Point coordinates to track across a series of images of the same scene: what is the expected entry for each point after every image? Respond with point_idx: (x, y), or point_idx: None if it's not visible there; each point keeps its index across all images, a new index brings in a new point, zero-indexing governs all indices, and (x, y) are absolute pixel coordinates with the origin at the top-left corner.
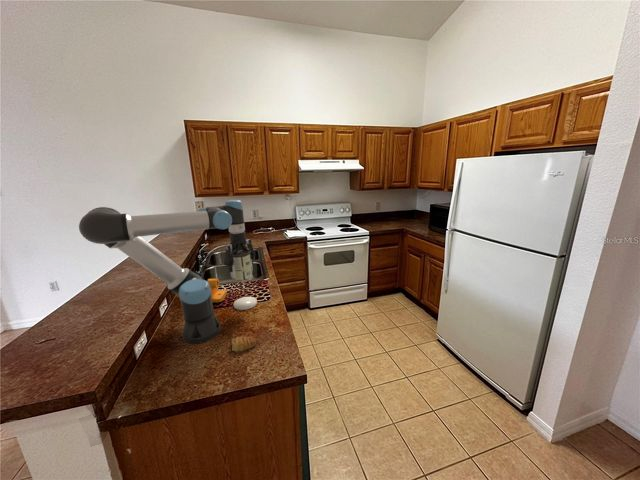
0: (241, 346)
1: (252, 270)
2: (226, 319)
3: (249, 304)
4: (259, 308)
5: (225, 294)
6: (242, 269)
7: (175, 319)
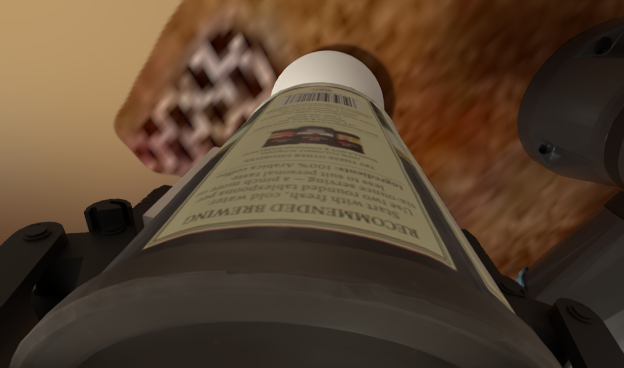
0: None
1: (216, 148)
2: (472, 90)
3: (335, 75)
4: (328, 6)
5: None
6: (401, 145)
7: (516, 262)
